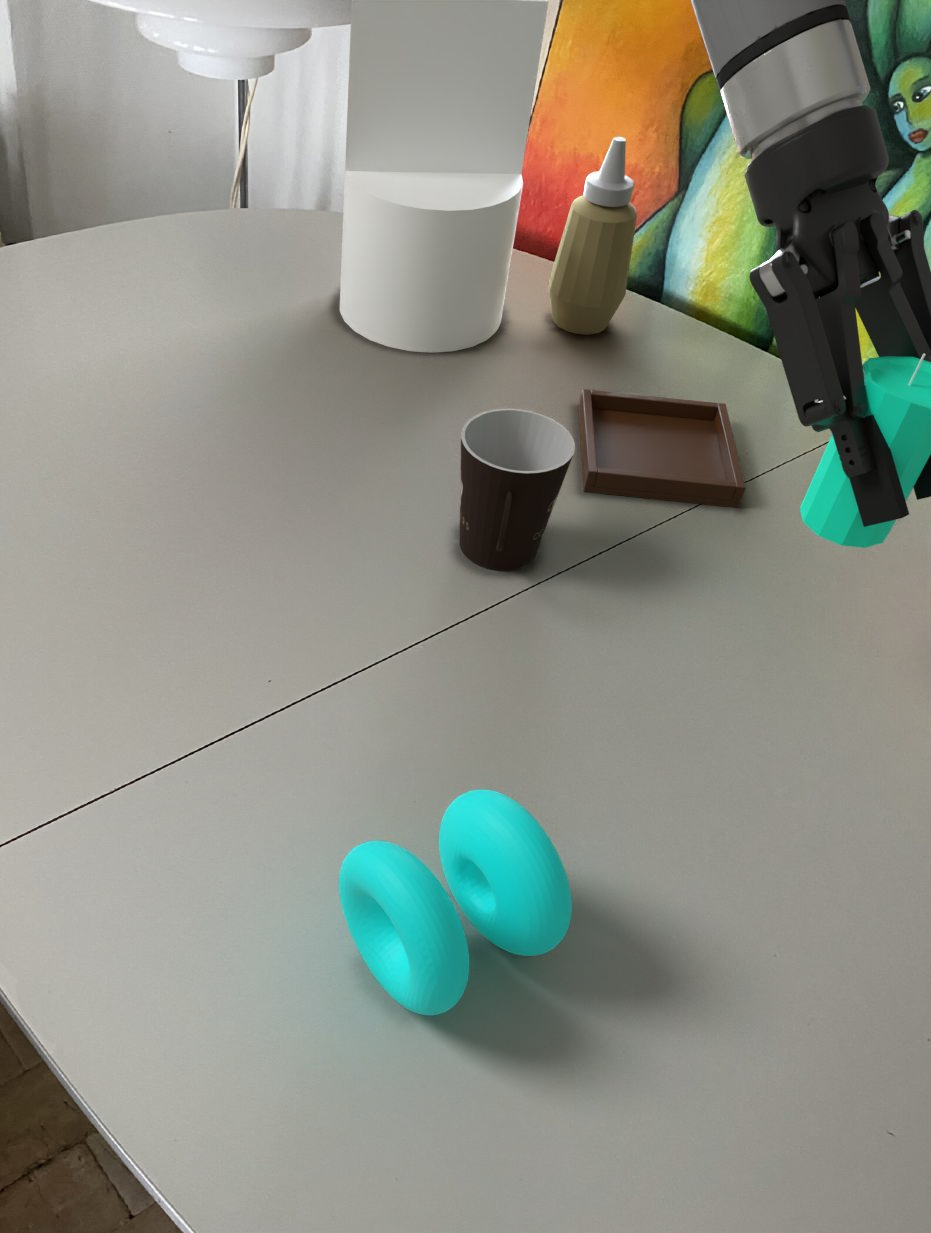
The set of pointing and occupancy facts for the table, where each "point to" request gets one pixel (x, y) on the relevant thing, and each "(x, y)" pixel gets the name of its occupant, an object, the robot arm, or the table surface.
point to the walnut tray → (658, 448)
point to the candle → (913, 428)
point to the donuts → (482, 886)
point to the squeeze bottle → (595, 249)
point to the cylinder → (435, 166)
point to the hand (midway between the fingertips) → (913, 506)
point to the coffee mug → (509, 484)
